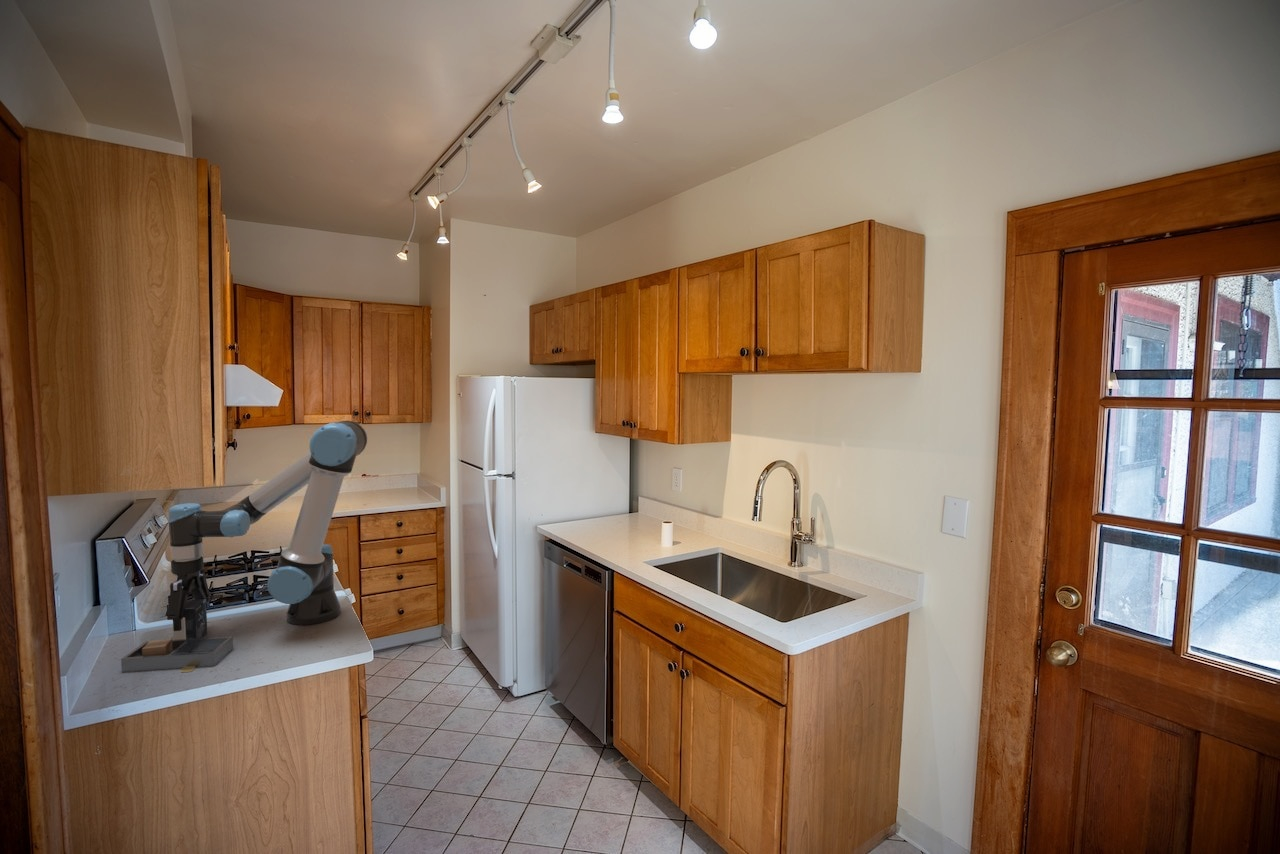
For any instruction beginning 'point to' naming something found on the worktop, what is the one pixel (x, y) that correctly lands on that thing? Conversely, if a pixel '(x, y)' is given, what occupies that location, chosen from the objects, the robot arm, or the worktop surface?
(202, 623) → the box
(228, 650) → the tray
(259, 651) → the worktop surface
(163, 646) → the nut block
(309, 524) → the robot arm
